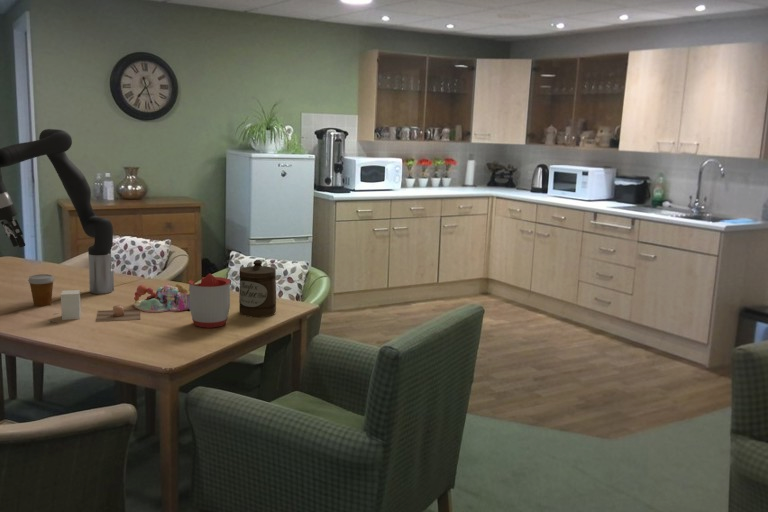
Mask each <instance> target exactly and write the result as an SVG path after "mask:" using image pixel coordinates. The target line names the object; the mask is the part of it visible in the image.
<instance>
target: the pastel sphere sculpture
mask: <svg viewBox="0 0 768 512" xmlns="http://www.w3.org/2000/svg"><path fill="white" fill-rule="evenodd" d="M146 294H147V295H148V296H146V298H144V299H141V300H139V299H140V298H141V297H142V296H144V295H146ZM133 300H134V301H135V302H134V303H133V307H134V308H135V309H139V310H140V312H141V311H143V312H146V313H156V314H157V313H164V312H168V311H169V312H182V311H187V310H189V311H190V303H189V288H186V286H185V285H183V284H181V283H177V284H176V285H175V286H172V285H170V284H167V285H166V284H165V285H164V286H163V287H161V286H160V287H158V288H157V289H156V292H155V291H154V288H152V287H148V288H147V286H146V285H143V284H140V285H138V286H137V288H136V291H135V292H134V299H133Z"/></svg>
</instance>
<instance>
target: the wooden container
mask: <svg viewBox="0 0 768 512" xmlns="http://www.w3.org/2000/svg"><path fill="white" fill-rule="evenodd" d="M262 264H263V261H262V260H260V259H255V260H254V261H253V265H251V266H245V267H241V268H239V296H238V297H239V298H238V299H239V300H238V302H239V307H238V309H239V313H240V315H242V316H244V315H246V316H245V317H249V316H252V317H251V318H261V316H265V317H270V316H273V315H275V314H276V313H275V312H277V284H276V283H277V279H276V278H277V276H276V275H277V273H276V272H277V269H275V268H274V267H272V266H265V265H262ZM274 313H275V314H274ZM272 314H273V315H272ZM269 315H270V316H269Z"/></svg>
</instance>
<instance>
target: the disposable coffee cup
mask: <svg viewBox="0 0 768 512" xmlns="http://www.w3.org/2000/svg"><path fill="white" fill-rule="evenodd" d="M27 281H28V283H29V287H30V292H31V297H32V302H33V306H34V307H47V306H52V298H53V287H54V281H55V278H54V275H52V274H45V273H44V274H43V273H41V274H33V275H30V276H29V279H28V280H27Z"/></svg>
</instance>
